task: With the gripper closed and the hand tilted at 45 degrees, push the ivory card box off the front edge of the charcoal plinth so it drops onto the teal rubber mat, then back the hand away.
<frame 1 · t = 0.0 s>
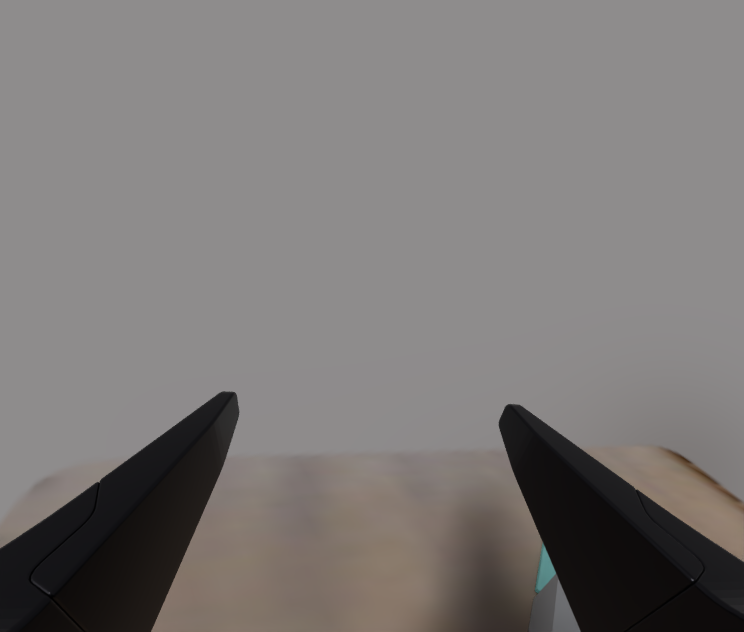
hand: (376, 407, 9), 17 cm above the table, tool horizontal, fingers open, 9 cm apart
mat: (661, 617, 18), on the table
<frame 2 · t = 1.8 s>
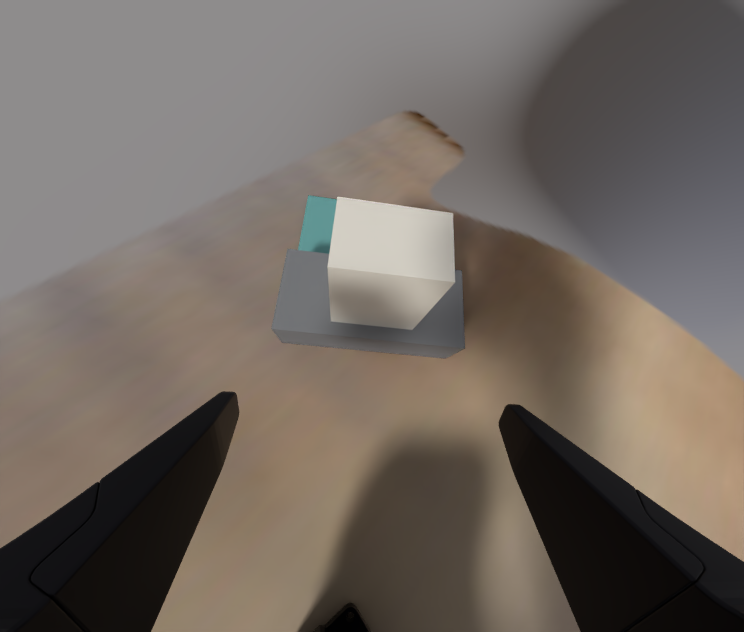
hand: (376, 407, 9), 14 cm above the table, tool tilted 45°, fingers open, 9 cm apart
card box: (374, 300, 21), point 4 cm above the table, touching plinth
plinth: (368, 314, 25), on the table
mat: (374, 241, 28), on the table
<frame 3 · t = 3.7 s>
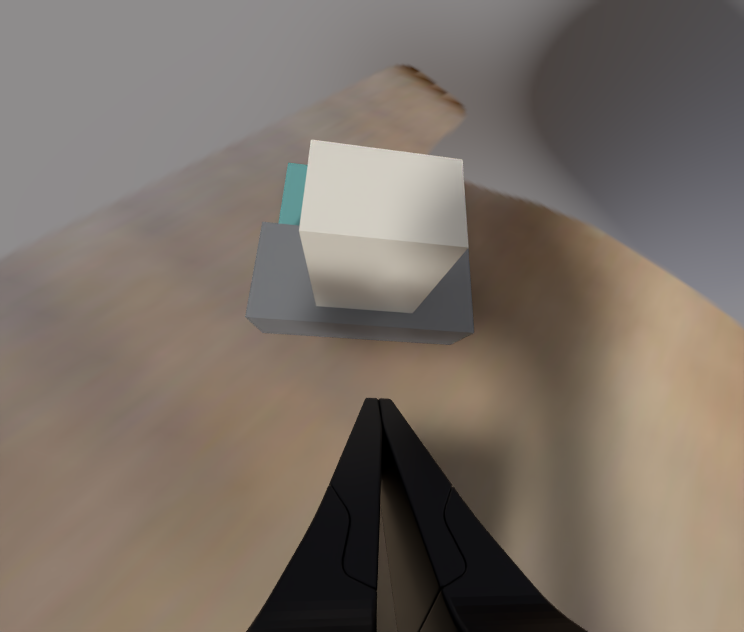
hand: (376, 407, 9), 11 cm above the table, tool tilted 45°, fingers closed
card box: (366, 280, 18), point 4 cm above the table, touching plinth
plinth: (361, 298, 22), on the table
mat: (366, 213, 24), on the table
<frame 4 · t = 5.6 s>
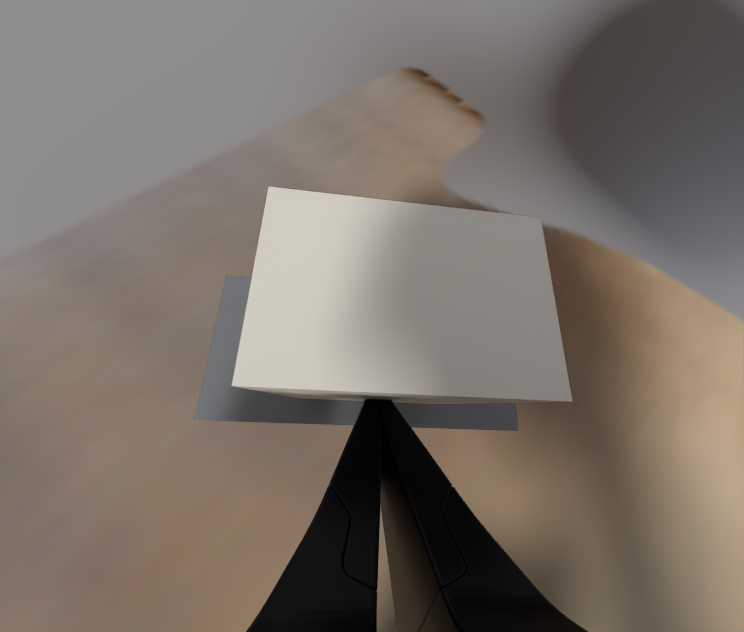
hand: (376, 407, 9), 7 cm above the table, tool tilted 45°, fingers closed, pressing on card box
card box: (368, 356, 13), point 4 cm above the table, touching gripper
plinth: (361, 363, 17), on the table
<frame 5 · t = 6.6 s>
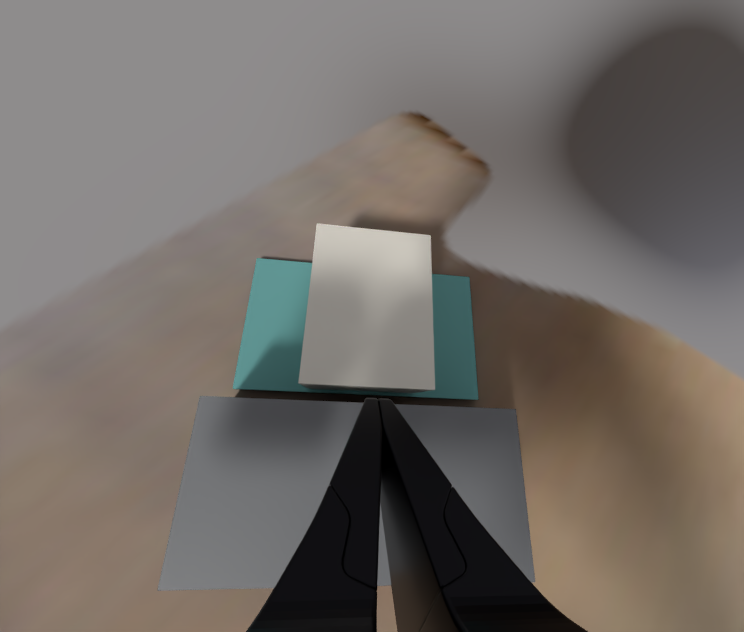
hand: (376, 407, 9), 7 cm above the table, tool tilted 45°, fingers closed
card box: (364, 389, 14), point 2 cm above the table, tilted 90°, touching mat
plinth: (356, 466, 15), on the table
mat: (363, 328, 18), on the table
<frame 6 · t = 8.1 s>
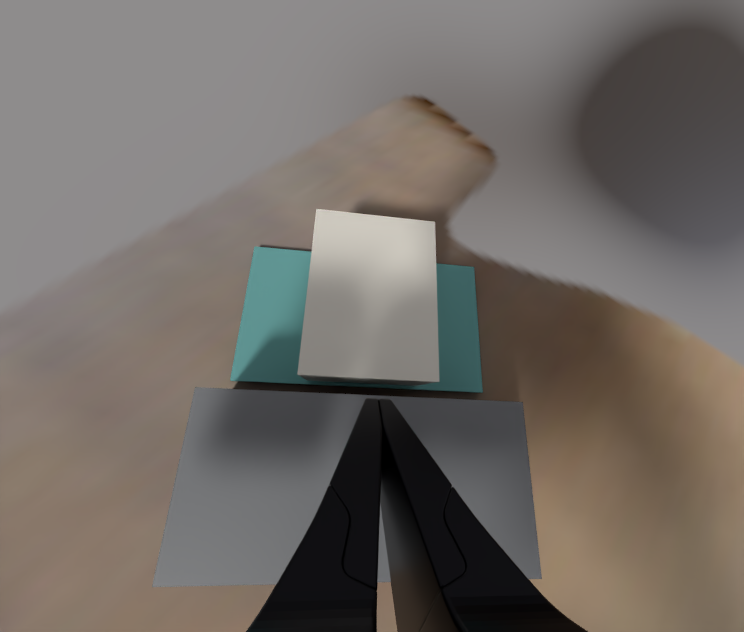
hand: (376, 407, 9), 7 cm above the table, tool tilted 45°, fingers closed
card box: (365, 381, 14), point 2 cm above the table, tilted 90°, touching mat
plinth: (357, 459, 15), on the table
mat: (364, 319, 17), on the table
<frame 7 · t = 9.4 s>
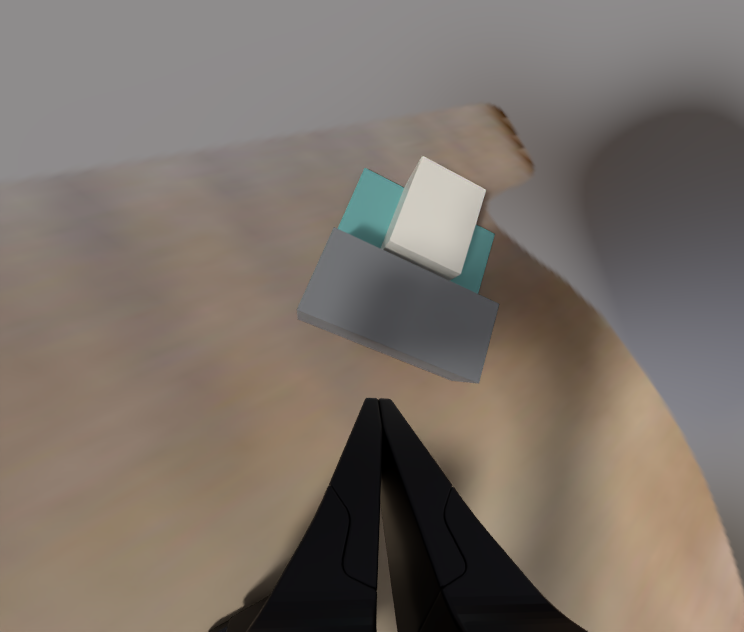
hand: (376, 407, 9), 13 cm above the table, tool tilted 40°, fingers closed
card box: (415, 266, 23), point 2 cm above the table, tilted 90°, touching mat
plinth: (390, 315, 24), on the table
mat: (418, 239, 26), on the table
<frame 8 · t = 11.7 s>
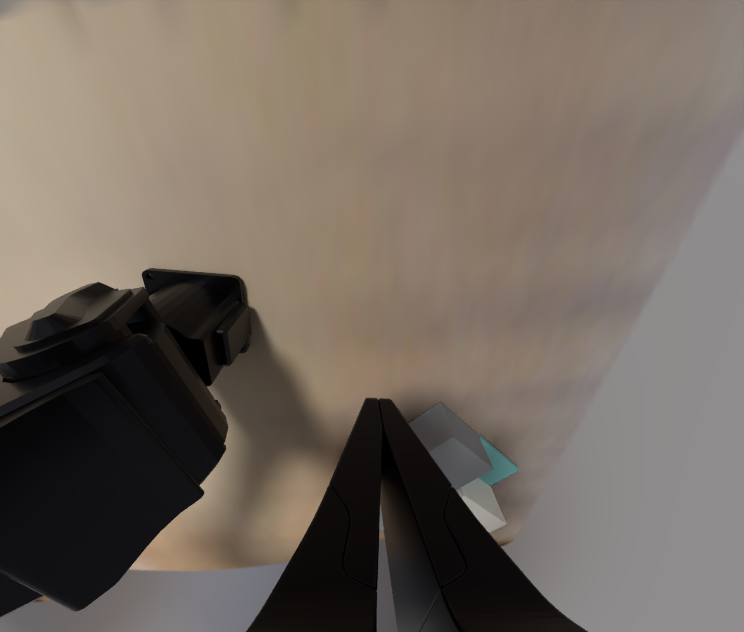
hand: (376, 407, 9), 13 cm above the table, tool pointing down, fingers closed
card box: (434, 488, 30), point 2 cm above the table, tilted 90°, touching mat
plinth: (407, 452, 30), on the table
mat: (449, 480, 33), on the table
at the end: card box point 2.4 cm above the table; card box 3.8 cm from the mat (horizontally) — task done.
